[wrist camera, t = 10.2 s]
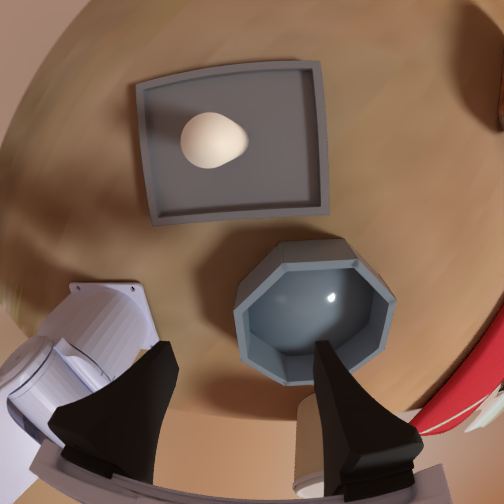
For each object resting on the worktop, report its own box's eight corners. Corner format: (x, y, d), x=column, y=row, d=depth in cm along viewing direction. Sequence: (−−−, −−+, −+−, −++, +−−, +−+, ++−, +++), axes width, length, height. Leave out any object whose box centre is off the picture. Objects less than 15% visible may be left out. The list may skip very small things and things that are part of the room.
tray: (159, 220, 21) (152, 226, 20) (144, 87, 17) (135, 84, 16) (325, 209, 20) (329, 215, 19) (316, 66, 16) (320, 60, 14)
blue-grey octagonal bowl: (247, 357, 26) (244, 387, 23) (233, 243, 22) (226, 265, 18) (366, 349, 25) (376, 376, 21) (384, 236, 20) (404, 255, 17)
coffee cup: (283, 423, 31) (283, 500, 20) (301, 381, 27) (308, 478, 16) (347, 423, 31) (359, 495, 20) (375, 383, 27) (399, 466, 16)
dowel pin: (215, 160, 18) (183, 171, 11) (212, 125, 17) (178, 117, 10) (250, 156, 18) (239, 165, 11) (247, 121, 17) (234, 108, 10)
